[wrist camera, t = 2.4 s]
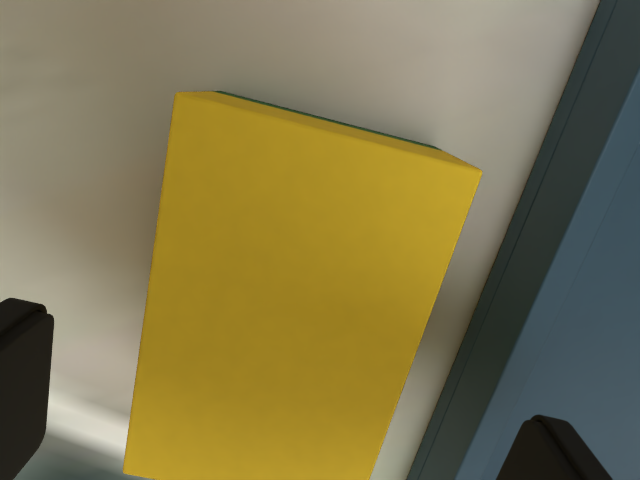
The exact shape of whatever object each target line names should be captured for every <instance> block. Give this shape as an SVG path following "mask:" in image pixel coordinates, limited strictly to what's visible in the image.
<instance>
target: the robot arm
mask: <svg viewBox="0 0 640 480" xmlns="http://www.w3.org/2000/svg"><path fill="white" fill-rule="evenodd" d="M53 330H54V318H53V316H52V315H51V314H47V310H46V307H45V306H44V305H43V304H38V303H34V302H29V301H25V300H20V299H16V298H8V299H6V300H4V301H2V302H0V480H13V479H14V478H15V477H16V475H17V474H18V473H19V472H20V470H21V469H22V468H23V467H24V466H25V464H26V463H27V462H28V461H29V459H30V458H31V457H32V456H33V455H34V453H35V452H36V451H37V449H38V448H39V446H40V444H41V443H42V440H43V438H44V435H45V431H46V422H47V408H48V395H49V382H50V369H51V356H52V343H53ZM496 480H613V479H612V477H611V476H610V475H609V474H608V472H607V471H606V470H605V468H604V467H603V466H602V464H601V463H600V462H599V460H598V459H597V458H596V456H595V455H594V454H593V453H592V451H591V450H590V449H589V447H588V446H587V445H586V443H585V442H584V441H583V439H582V438H581V437H580V435H579V434H578V433H577V432H576V430H575V429H574V428H573V426H572V425H571V424H570V423H569V422H568V421H565V420H562V419H557V418H553V417H548V416H544V415H534V416H533V417H532V418H531V419H530V420H526V421H524V422H523V423H522V425H521V427H520V429H519V431H518V433H517V435H516V438H515V440H514V442H513V444H512V446H511V448H510V450H509V453H508V455H507V457H506V459H505V461H504V463H503V465H502V467H501V470H500V472H499V474H498V476H497V478H496Z"/></svg>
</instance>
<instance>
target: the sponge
mask: <svg viewBox="0 0 640 480" xmlns="http://www.w3.org/2000/svg"><path fill="white" fill-rule="evenodd" d="M481 176H482V171H481V170H480V169H478V168H476V167H474V166H472V165H470V164H468V163H466V162H464V161H462V160H460V159H458V158H456V157H454V156H452V155H450V154H448V153H446V152H444V151H442V150H440V149H438V148H436V147H434V146H430V145H426V144H422V143H419V142H415V141H411V140H407V139H403V138H399V137H395V136H392V135H388V134H384V133H380V132H376V131H372V130H368V129H365V128H361V127H357V126H353V125H349V124H345V123H341V122H338V121H334V120H330V119H326V118H322V117H318V116H314V115H311V114H307V113H303V112H299V111H295V110H291V109H288V108H284V107H280V106H276V105H272V104H268V103H264V102H261V101H257V100H253V99H249V98H245V97H241V96H237V95H234V94H230V93H226V92H222V91H202V92H176V94H175V96H174V103H173V110H172V118H171V125H170V132H169V139H168V147H167V154H166V161H165V168H164V176H163V183H162V190H161V197H160V205H159V212H158V219H157V226H156V234H155V241H154V248H153V255H152V262H151V270H150V277H149V284H148V291H147V299H146V306H145V313H144V320H143V328H142V335H141V342H140V349H139V357H138V364H137V371H136V378H135V386H134V393H133V400H132V407H131V415H130V422H129V429H128V436H127V444H126V451H125V458H124V465H123V473H125V474H130V475H135V476H140V477H146V478H151V479H156V480H369V479H370V476H371V473H372V471H373V468H374V465H375V462H376V460H377V457H378V454H379V452H380V449H381V446H382V444H383V441H384V438H385V435H386V433H387V430H388V427H389V425H390V422H391V419H392V417H393V414H394V411H395V408H396V406H397V403H398V400H399V398H400V395H401V392H402V390H403V387H404V384H405V381H406V379H407V376H408V373H409V371H410V368H411V365H412V362H413V360H414V357H415V354H416V352H417V349H418V346H419V344H420V341H421V338H422V335H423V333H424V330H425V327H426V325H427V322H428V319H429V317H430V314H431V311H432V308H433V306H434V303H435V300H436V298H437V295H438V292H439V290H440V287H441V284H442V281H443V279H444V276H445V273H446V271H447V268H448V265H449V263H450V260H451V257H452V254H453V252H454V249H455V246H456V244H457V241H458V238H459V236H460V233H461V230H462V227H463V225H464V222H465V219H466V217H467V214H468V211H469V209H470V206H471V203H472V200H473V198H474V195H475V192H476V190H477V187H478V184H479V181H480V179H481Z"/></svg>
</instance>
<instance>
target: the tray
mask: <svg viewBox="0 0 640 480" xmlns="http://www.w3.org/2000/svg"><path fill="white" fill-rule="evenodd" d="M534 415H544V416H548V417H553V418H557V419H562V420H565V421H568V422H569V423H570V424H571V425H572V426H573V428H574V429H575V430H576V432H577V433H578V434H579V435H580V437H581V438H582V439H583V441H584V442H585V443H586V445H587V446H588V447H589V449H590V450H591V451H592V453H593V454H594V455H595V456H596V458H597V459H598V460H599V462H600V463H601V464H602V466H603V467H604V468H605V470H606V471H607V472H608V474H609V475H610V476H611V477H612V479H613V480H640V0H601V2H600V4H599V7H598V9H597V12H596V14H595V17H594V19H593V22H592V24H591V26H590V29H589V31H588V34H587V36H586V39H585V41H584V44H583V46H582V49H581V51H580V54H579V56H578V59H577V61H576V63H575V66H574V68H573V71H572V73H571V76H570V78H569V81H568V83H567V86H566V88H565V91H564V93H563V96H562V98H561V100H560V103H559V105H558V108H557V110H556V113H555V115H554V118H553V120H552V123H551V125H550V128H549V130H548V133H547V135H546V137H545V140H544V142H543V145H542V147H541V150H540V152H539V155H538V157H537V160H536V162H535V165H534V167H533V170H532V172H531V174H530V177H529V179H528V182H527V184H526V187H525V189H524V192H523V194H522V197H521V199H520V202H519V204H518V207H517V209H516V211H515V214H514V216H513V219H512V221H511V224H510V226H509V229H508V231H507V234H506V236H505V239H504V241H503V244H502V246H501V248H500V251H499V253H498V256H497V258H496V261H495V263H494V266H493V268H492V271H491V273H490V276H489V278H488V281H487V283H486V285H485V288H484V290H483V293H482V295H481V298H480V300H479V303H478V305H477V308H476V310H475V313H474V315H473V318H472V320H471V322H470V325H469V327H468V330H467V332H466V335H465V337H464V340H463V342H462V345H461V347H460V350H459V352H458V355H457V357H456V359H455V362H454V364H453V367H452V369H451V372H450V374H449V377H448V379H447V382H446V384H445V387H444V389H443V392H442V394H441V396H440V399H439V401H438V404H437V406H436V409H435V411H434V414H433V416H432V419H431V421H430V424H429V426H428V429H427V431H426V433H425V436H424V438H423V441H422V443H421V446H420V448H419V451H418V453H417V456H416V458H415V461H414V463H413V466H412V468H411V470H410V473H409V475H408V478H407V480H496V478H497V476H498V474H499V472H500V470H501V467H502V465H503V463H504V461H505V459H506V457H507V455H508V453H509V450H510V448H511V446H512V444H513V442H514V440H515V438H516V435H517V433H518V431H519V429H520V427H521V425H522V423H523V422H524V421H526V420H530V419H531V418H532V417H533V416H534Z"/></svg>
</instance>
